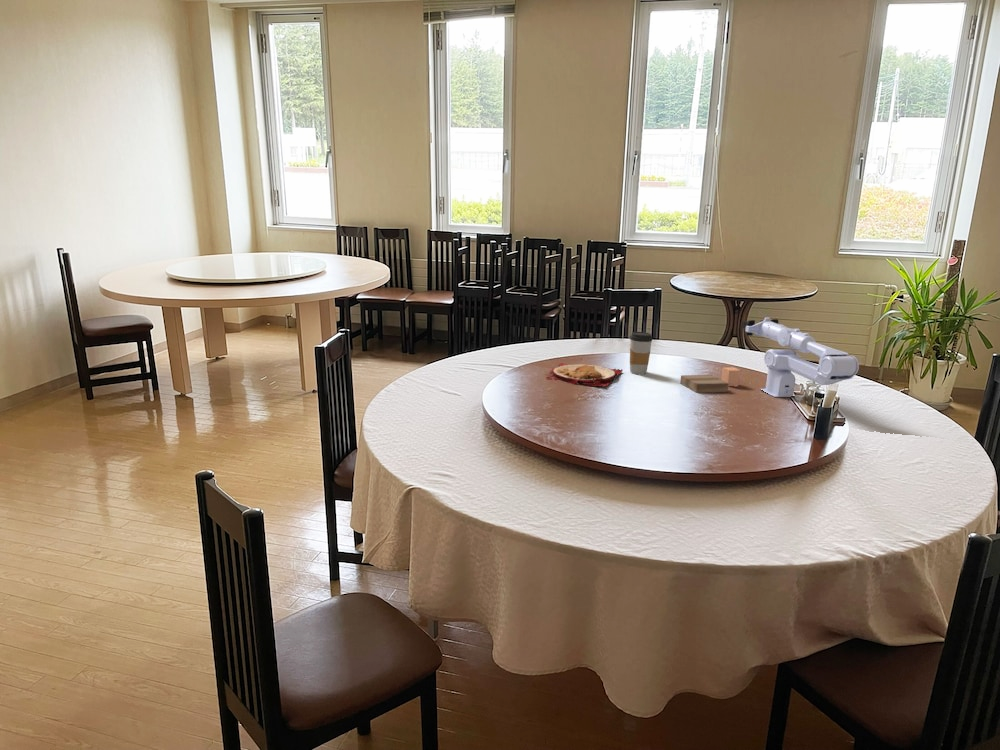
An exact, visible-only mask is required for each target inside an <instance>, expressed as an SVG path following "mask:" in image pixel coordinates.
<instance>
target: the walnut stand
mask: <svg viewBox="0 0 1000 750" xmlns="http://www.w3.org/2000/svg"><path fill="white" fill-rule="evenodd" d="M680 384H681V385H682V386H684V387H685V388H688V389H689V390H691V391H693V392H694V393H728V392H729V387H728V385H729V383H727V382H725V381H723V380H721V378H718V377H716V376H714V375H713V374H695V375H694V374H693V375H692V374H691V375H685V374H683V375H682V374H681V375H680Z"/></svg>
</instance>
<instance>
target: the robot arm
mask: <svg viewBox="0 0 1000 750" xmlns="http://www.w3.org/2000/svg"><path fill="white" fill-rule="evenodd" d="M763 319H764V320H760V322H758V323H756V320H755V319H752V320H751V319H750V320H742V321H741V328H742V329H743V330H744V331H745V334H746V336H748V337H751V336H753V335H754V334H755V335H757V336H760V337H763V338H767V339H769V340H772V341H774V342H778V344H779V345H780V346H781V347H791V348H790V349H771V348H770V349H768V350H766V352H765V354H764V356H763V358H764V359H763V360H764V364H765V366H766V368H768V369H767V376H766V383H765V388H760V389H761V390H763V391H764V392H763V391H762V392H763V393H765V392H766V393H765V394H767V393H768V395H770V396H771V397H774V398H792V397H791V396H792V395H794V392H795V385H796V377H795V374H796V375H799V376H801V377H803V378H804V379H807V380H810V381H812V382H813V383H816V384H818V385H820V386H821V385H822V386H831V385H834V384H837V383H840V382H842V381H847V380H851V379H853V378H854V377H855V375H857V373H858V372H859V369H860V364H859V361H858V358H857V357H856V356H854V355H849V353H848V352H846V351H843V350H840V349H836V348H833V347H830V346H827V345H824V344H822V343H818V342H817V341H816V339H815V338H814V337H813V336H811V335H810V333H808V332H802V331H801V330H800V328H798V327H796V328H790V327H788V326H786V325H785V324H781V323H780V324H779V320H778V319H777V318H774V319H771V318H770V317H764V318H763ZM797 351H799V352H801V353H803V354H808V353H809V354H810V353H811V354H813V355H815V356H817V357H819V361H818V364H816V363H813V362H811V361H808V360H806V359H804V358H801V357H802V355H800V354H799V353H798V352H797ZM793 373H794V374H793ZM830 384H831V385H830ZM761 390H760V391H761Z"/></svg>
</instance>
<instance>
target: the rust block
mask: <svg viewBox="0 0 1000 750" xmlns="http://www.w3.org/2000/svg"><path fill="white" fill-rule="evenodd" d="M741 372H742V371H741V370H740V369H739V368H737V367H734V366H733V367H722V371H721V378H720V379H721V380H723V381H725V382H727V383H729V385H728V386H734V387H736V386H735V385H739V386H740V379H741Z"/></svg>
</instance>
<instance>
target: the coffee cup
mask: <svg viewBox="0 0 1000 750" xmlns="http://www.w3.org/2000/svg"><path fill="white" fill-rule="evenodd" d="M629 340H630V342H629V343H630V344H629V345H630V348H629V371H630V373H631V374H634V375H645V374H647V372H648V366H649V362H650V356H651V348H652V347H651V346H652V342H653V336H652V333H650V332H645V331H634V332H631V335H630V337H629Z"/></svg>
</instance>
